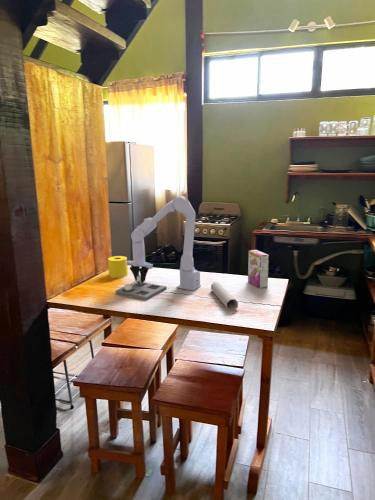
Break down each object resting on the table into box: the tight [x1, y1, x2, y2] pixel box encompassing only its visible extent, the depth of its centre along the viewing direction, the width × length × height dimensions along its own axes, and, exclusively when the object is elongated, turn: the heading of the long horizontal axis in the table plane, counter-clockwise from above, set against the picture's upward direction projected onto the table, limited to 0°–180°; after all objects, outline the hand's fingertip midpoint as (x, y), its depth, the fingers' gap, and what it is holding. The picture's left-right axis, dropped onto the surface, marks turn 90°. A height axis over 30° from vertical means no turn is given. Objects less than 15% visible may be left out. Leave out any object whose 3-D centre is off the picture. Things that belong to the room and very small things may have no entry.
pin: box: [124, 283, 132, 293], centre depth 166 cm, size 3×3×4 cm
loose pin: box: [137, 274, 144, 286], centre depth 173 cm, size 3×3×4 cm
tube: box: [210, 281, 239, 311], centre depth 157 cm, size 5×5×25 cm
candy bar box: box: [247, 249, 270, 289], centre depth 174 cm, size 11×5×16 cm, turn 22°
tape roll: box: [107, 255, 129, 279], centre depth 193 cm, size 10×10×9 cm
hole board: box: [114, 280, 167, 301], centre depth 168 cm, size 18×16×2 cm
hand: (140, 280), depth 173 cm, fingers closed on loose pin, 3 cm apart
